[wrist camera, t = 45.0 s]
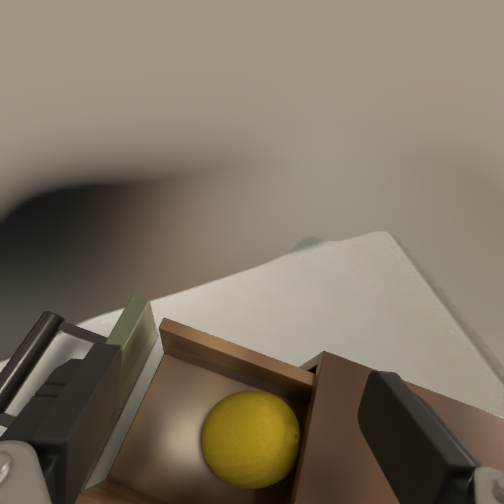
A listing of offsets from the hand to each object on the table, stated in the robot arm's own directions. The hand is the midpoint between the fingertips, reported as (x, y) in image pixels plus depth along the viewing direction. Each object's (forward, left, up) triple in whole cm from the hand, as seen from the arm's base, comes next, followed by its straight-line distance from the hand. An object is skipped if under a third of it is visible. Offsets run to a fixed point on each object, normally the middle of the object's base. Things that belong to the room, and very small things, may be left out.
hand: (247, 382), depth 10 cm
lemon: (0, -1, -17) cm, 17 cm away
